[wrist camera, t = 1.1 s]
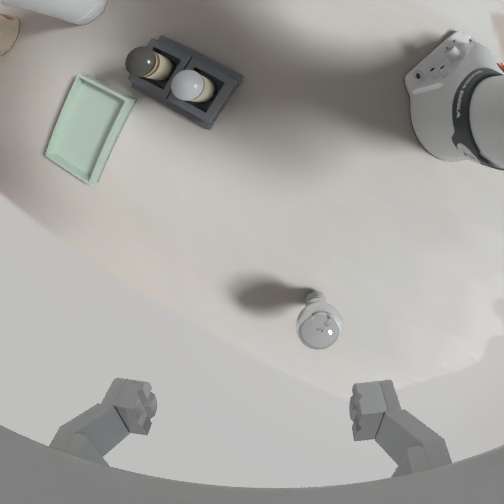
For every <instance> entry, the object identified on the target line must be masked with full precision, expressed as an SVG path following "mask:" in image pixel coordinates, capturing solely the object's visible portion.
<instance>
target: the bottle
mask: <svg viewBox="0 0 504 504" xmlns="http://www.w3.org/2000/svg"><path fill="white" fill-rule="evenodd" d="M106 3H107V0H0V4H4V5H8V6H13V7H17V8H21V9H25V10H29V11H33V12H37V13H41V14H44V15H48V16H51V17H55V18H58V19H61V20H65V21H66V22H69V23H73V24H78V25H84V24H88V23H90V22H91V21H93V20H95V19H96V18H97V17H98V16H99V15H100V14H101V12H102V11H103V9H104V8H105V5H106Z"/></svg>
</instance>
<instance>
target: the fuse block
mask: <svg viewBox="0 0 504 504" xmlns="http://www.w3.org/2000/svg"><path fill="white" fill-rule="evenodd" d="M146 48H148V49H150V50H153V51H154V52H156V53H158V54H160V55H162V56H164V57H166V58H169V59H171V60H172V61H173V62H174V63H175V65H176V69H175V71H174V72H173V74H172V76H171V77H170V79H169V80H168V81H164V82H161V81H157V80H153V79H149V78H145V77H139V76H135V75H132V74H130V76H129V78H128V80H130V81H132V82H133V84H132V86H131V87H132V88H134V89H136V90H138V91H140V92H142V93H144V94H145V95H147V96H149V97H151V98H153V99H155V100H157V101H159V102H160V103H162V104H164V105H166V106H168V107H170V108H171V109H173V110H175V111H177V112H179V113H180V114H182V115H184V116H186V117H188V118H189V119H191V120H193V121H195V122H196V123H198V124H200V125H202V126H203V127H205V128H207V129H208V130H210V129H211V127H212V126H213V124H214V122H215V121H216V119H217V117H218V116H219V114H220V113H221V111H222V110H223V108H224V106H225V105H226V103H227V102H228V100H229V99H230V97H231V96H232V94H233V93H234V91H235V90H236V88H237V87H238V85H239V84H240V82H241V81H242V79H243V78H244V77H243V76H241V75H240V74H238V73H236V72H234V71H232V70H231V69H229V68H227V67H225V66H223V65H221V64H219V63H218V62H216V61H214V60H212V59H210V58H208V57H206V56H204V55H202V54H200V53H198V52H196V51H194V50H192V49H190V48H188V47H186V46H183V45H181V44H179V43H177V42H175V41H173V40H170V39H168V38H166V37H164V36H161V37H160V39H159V40H158V41H156V40H154V39H151V40H150V42H149V44H148V45H147V47H146ZM183 70H193V71H195V72H197V73H199V74H200V75H202V76H204V77H206V78H208V79H210V80H211V81H213V82H214V83H215V84H216V87H217V94H216V96H215V98H214V99H213V100H212V101H210V102H208V103H199V102H193V101H185V100H180V99H178V98H177V97H175V95H174V94H173V92H172V90H171V83H172V80H173V78H174V77H175V75H176V74H178V73H179V72H181V71H183Z"/></svg>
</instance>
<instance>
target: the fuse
mask: <svg viewBox="0 0 504 504" xmlns="http://www.w3.org/2000/svg"><path fill="white" fill-rule="evenodd" d="M171 90H172V92H173V94H174V95H175V97H177V98H178V99H180V100H185V101H193V102H199V103H208V102H210V101H212V100H213V99H214V98H215V96H216V94H217V87H216V84H215V83H214V82H213V81H211V80H210V79H208V78H206V77H204V76H202V75H200V74H199V73H197V72H195V71H193V70H183V71H181V72H179V73H178V74H176V75H175V77H174V78H173V80H172V83H171Z"/></svg>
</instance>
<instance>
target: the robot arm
mask: <svg viewBox="0 0 504 504" xmlns="http://www.w3.org/2000/svg"><path fill="white" fill-rule="evenodd" d="M469 40H470V42H471V43H470V42H469ZM416 74H418V75H419V79H418V78H417V77H416ZM405 85H406V88H407V90H408V93H409V95H410V112H411V120H412V125H413V128H414V131H415V133H416V135H417V137H418V139H419V141H420V142H421V144H422V145H423V146H424V147H425V149H426V150H427V151H429V152H430V153H431V154H432V155H434V156H435V157H437V158H439V159H441V160H444V161H450V162H455V161H461V160H471V161H473V162H476V163H478V164H482V165H485V166H488V167H491V168H495V169H498V170H504V63H503V62H502V61H501V59H500V58H499V57H498V56H497V55H496V54H495V53H494V52H492V51H491V50H490V49H489V48H488V47H486V46H484V45H483V44H481V43H480V42H479V41H477V40H476V39H475V38H473V37H472V36H470V35H468V34H466V33H464V32H461V31H456V32H454V33H452V34H451V35H450V36H449V37H448V38H447V39H445V40H444V41H443V42H442V43H441V44H440V45H439V46H437V47H436V48H435V49H434V50H433V51H432V52H431V53H430V54H428V55H427V56H426V57H425V58H424V59H423V60H422V61H421V62H419V63H418V64H417V65H416V66H415V67H414V68H413V69H412V70H411V71H409V72H408V73H407V74H406V76H405ZM151 389H152V387H151V385H150V383H149V382H143V381H136V380H129V379H123V378H116V379H114V381H113V383H112V384H111V386H110V388H109V390H108V392H107V394H106V395H105V397H104V399H103V401H102V403H101V404H96V405H95V406H93V407H92V408H90V409H89V410H87V411H85V412H84V413H82V414H80V415H79V416H77V417H76V418H74V419H72V420H71V421H69V422H67V423H66V424H64V425H62V426H61V427H60V428H59V430H58V432H57V433H56V435H55V437H54V438H53V440H52V442H51V444H50V446H46V445H44V444H41V443H39V442H36V441H34V440H31V439H29V438H27V437H24V436H22V435H20V434H18V433H16V432H13V431H11V430H9V429H7V428H5V427H3V426H1V425H0V504H504V445H502V446H500V447H498V448H495V449H492V450H490V451H487V452H484V453H482V454H479V455H476V456H473V457H470V458H467V459H464V460H461V461H458V462H454V463H452V461H451V458H450V455H449V452H448V449H447V446H446V443H445V440H444V439H443V438H442V437H441V436H439V435H438V434H437V433H435V432H434V431H433V430H431V429H430V428H429V427H427V426H426V425H425V424H423V423H422V422H421V421H419V420H418V419H417V418H416V417H414V416H413V415H411V414H410V413H409V412H408V411H406V410H402V409H401V407H400V403H399V400H398V397H397V394H396V391H395V388H394V385H393V382H392V381H391V380H384V381H374V382H366V383H357V384H354V385H353V389H352V392H353V396H352V397H351V399H350V418H351V420H352V421H353V422H354V423H353V426H352V430H353V437H354V441H361V440H370V439H375V441H376V442H377V443H378V444H379V445H380V446H381V447H382V448H383V449H384V450H385V452H387V454H388V455H389V456H390V457H391V458H392V459H393V460H394V461H395V462H396V463H397V464H398V465H399V466H398V467H397V469H396V471H395V472H394V474H393V475H392V477H391V478H388V479H383V480H376V481H370V482H362V483H354V484H346V485H336V486H324V487H308V488H245V487H229V486H216V485H206V484H198V483H190V482H183V481H176V480H170V479H164V478H159V477H153V476H148V475H143V474H139V473H134V472H130V471H125V470H121V469H118V468H114V467H110V466H109V465H108V463H107V462H106V461H105V460H104V459H103V456H104V455H106V454H107V453H108V452H109V451H110V450H111V449H112V448H114V447H115V446H116V445H117V444H118V443H120V442H121V441H122V440H123V439H124V438H125V437H126V436H127V435H129V434H130V433H136V434H142V435H148V432H149V429H150V427H151V424H152V423H151V421H150V419H151V418H152V417H153V416H155V413H156V410H157V400H156V397H155V395H154V394H153V393H152V392H150V391H151Z"/></svg>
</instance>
